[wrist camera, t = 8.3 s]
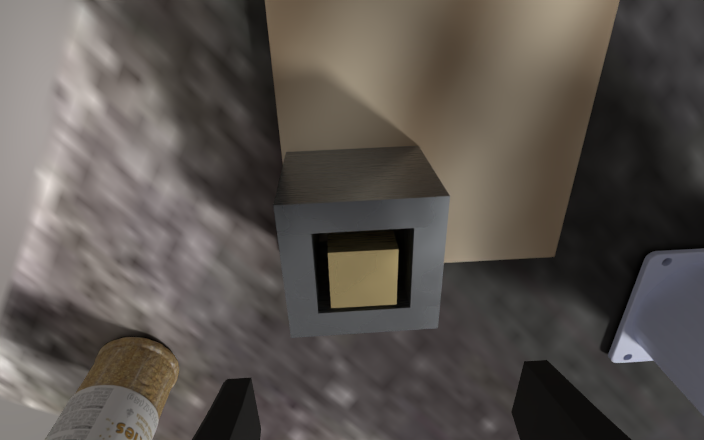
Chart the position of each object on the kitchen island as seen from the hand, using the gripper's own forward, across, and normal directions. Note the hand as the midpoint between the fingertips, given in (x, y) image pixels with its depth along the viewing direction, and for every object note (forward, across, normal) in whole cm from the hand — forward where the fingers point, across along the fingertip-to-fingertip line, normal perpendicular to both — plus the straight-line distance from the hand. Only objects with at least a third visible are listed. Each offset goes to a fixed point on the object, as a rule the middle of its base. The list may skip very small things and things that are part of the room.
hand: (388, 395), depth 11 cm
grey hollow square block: (+9, 0, -1) cm, 9 cm away
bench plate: (+10, -3, -4) cm, 12 cm away
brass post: (+10, 0, -1) cm, 10 cm away
